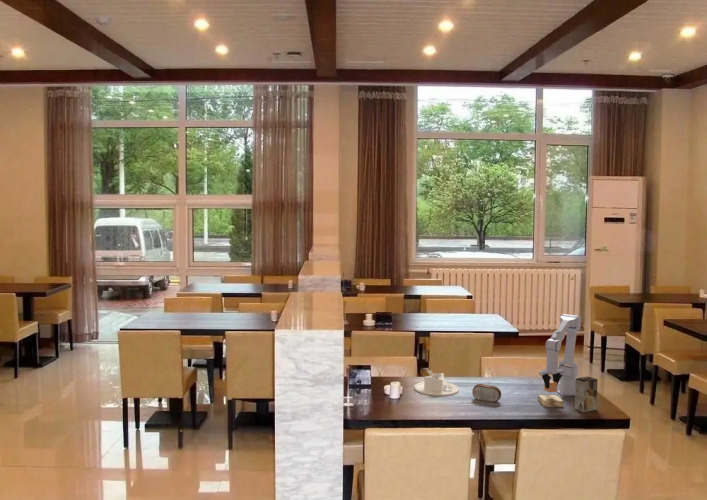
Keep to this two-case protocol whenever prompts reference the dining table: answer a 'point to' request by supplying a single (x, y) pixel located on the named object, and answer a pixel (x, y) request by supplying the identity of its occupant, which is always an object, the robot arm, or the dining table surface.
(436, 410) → the dining table surface
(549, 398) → the riser
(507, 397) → the dining table surface
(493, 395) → the tin
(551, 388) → the block
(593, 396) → the coffee box
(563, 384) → the robot arm
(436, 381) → the dish
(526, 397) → the dining table surface
